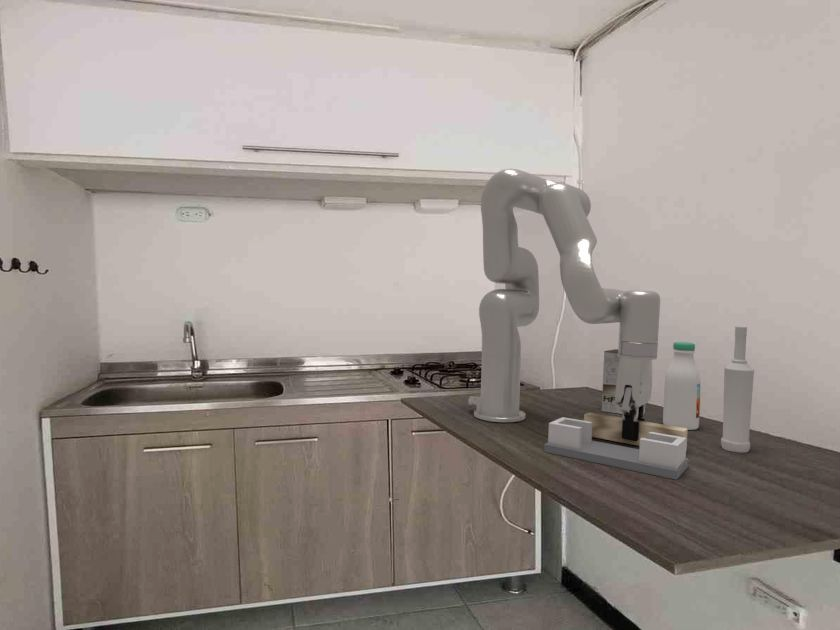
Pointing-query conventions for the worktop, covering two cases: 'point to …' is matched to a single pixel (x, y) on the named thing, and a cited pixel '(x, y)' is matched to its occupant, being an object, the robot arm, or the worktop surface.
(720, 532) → the worktop surface
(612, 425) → the slat
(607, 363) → the coffee box
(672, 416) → the milk bottle
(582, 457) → the grey holder stand
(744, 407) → the bottle
